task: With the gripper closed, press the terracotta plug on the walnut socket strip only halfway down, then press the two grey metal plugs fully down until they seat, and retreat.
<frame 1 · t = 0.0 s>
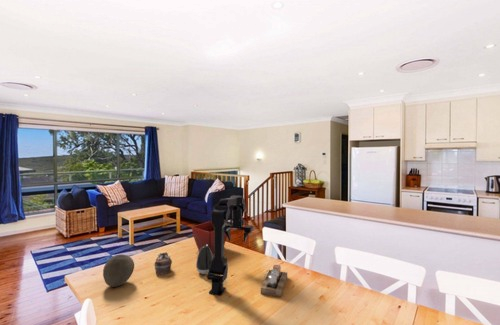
hand: (237, 242, 148), 15 cm above the table, fingers open, 9 cm apart
cupcake: (163, 271, 143), on the table
socket strip: (274, 285, 127), on the table
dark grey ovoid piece: (205, 272, 142), on the table
plug metal mid: (274, 275, 127), point 5 cm above the table, slide at 0.0 cm
dark grey stone: (119, 284, 129), on the table
plug metal near: (272, 280, 122), point 5 cm above the table, slide at 0.0 cm
plant pot: (210, 249, 175), on the table
plug terracotta: (276, 270, 132), point 5 cm above the table, slide at 0.0 cm
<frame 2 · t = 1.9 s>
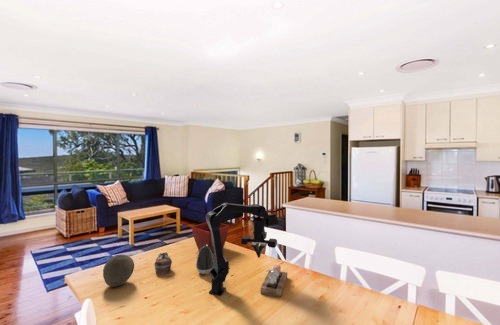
hand: (259, 257, 132), 13 cm above the table, fingers closed
nothing on the table moved.
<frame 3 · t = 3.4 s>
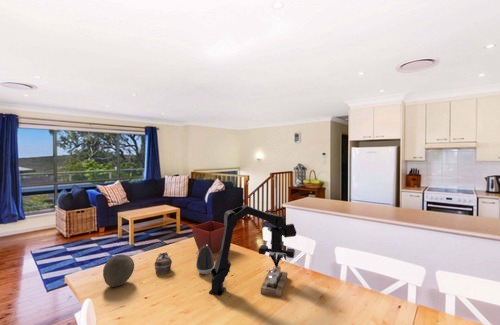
hand: (276, 267, 132), 7 cm above the table, fingers closed, pressing on plug terracotta
plug terracotta: (276, 271, 132), point 5 cm above the table, slide at 0.4 cm, touching gripper
everything else where it was.
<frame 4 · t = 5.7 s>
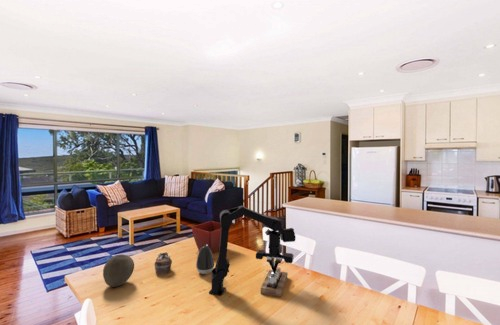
hand: (274, 272, 127), 7 cm above the table, fingers closed, pressing on plug metal mid
plug metal mid: (274, 276, 127), point 4 cm above the table, slide at 0.8 cm, touching gripper
plug terracotta: (276, 272, 132), point 4 cm above the table, slide at 1.1 cm
everything else where it was.
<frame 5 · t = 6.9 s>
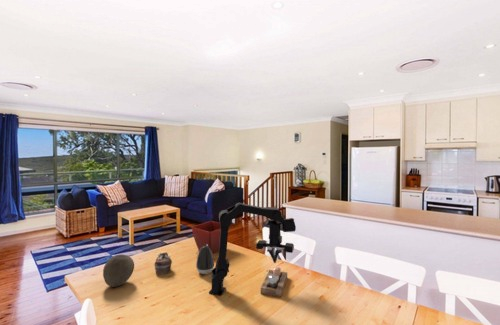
hand: (275, 262, 127), 12 cm above the table, fingers closed
plug metal mid: (274, 280, 127), point 3 cm above the table, slide at 2.4 cm
everything else where it was.
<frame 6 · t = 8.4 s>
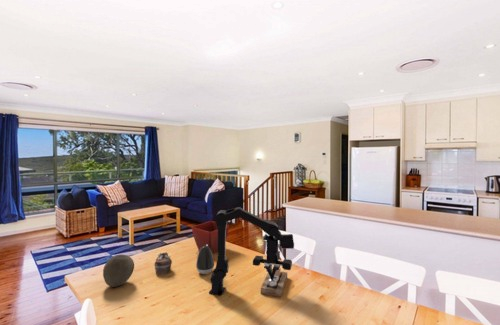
hand: (272, 279, 122), 6 cm above the table, fingers closed, pressing on plug metal near
plug metal near: (272, 284, 122), point 3 cm above the table, slide at 1.7 cm, touching gripper
everything else where it was.
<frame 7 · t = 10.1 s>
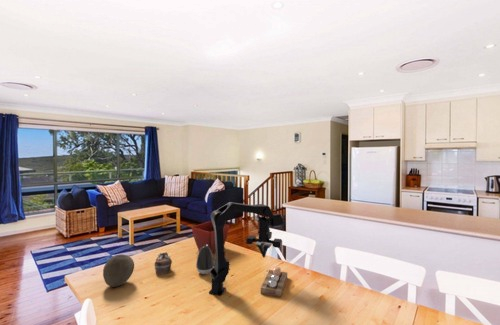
hand: (264, 257, 132), 13 cm above the table, fingers closed
plug metal near: (272, 285, 122), point 3 cm above the table, slide at 2.4 cm
everything else where it was.
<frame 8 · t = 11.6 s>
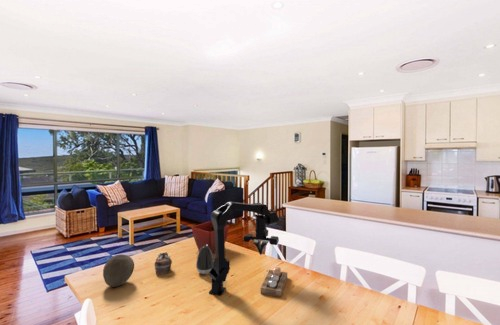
hand: (261, 254, 135), 12 cm above the table, fingers closed
nothing on the table moved.
at the end: plug terracotta slide at 1.1 cm; plug metal mid slide at 2.4 cm; plug metal near slide at 2.4 cm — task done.
